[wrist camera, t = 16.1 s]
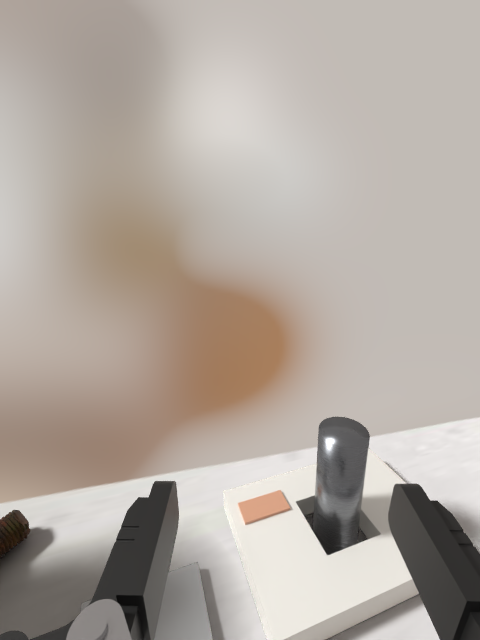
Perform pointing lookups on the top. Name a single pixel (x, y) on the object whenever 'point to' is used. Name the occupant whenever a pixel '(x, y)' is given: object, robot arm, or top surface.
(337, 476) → the cylinder
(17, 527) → the bolt
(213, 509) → the top surface
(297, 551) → the plate
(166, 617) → the mat
